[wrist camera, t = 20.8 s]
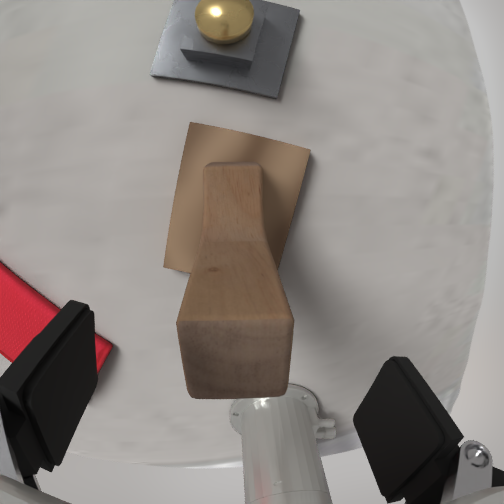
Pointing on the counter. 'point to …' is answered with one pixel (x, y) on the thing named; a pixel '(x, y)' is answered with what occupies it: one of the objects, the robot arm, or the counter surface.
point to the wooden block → (234, 295)
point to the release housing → (228, 50)
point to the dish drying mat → (29, 317)
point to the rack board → (233, 150)
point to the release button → (224, 20)
